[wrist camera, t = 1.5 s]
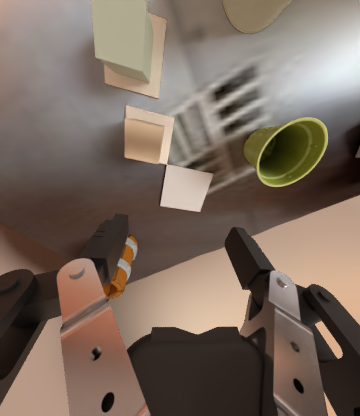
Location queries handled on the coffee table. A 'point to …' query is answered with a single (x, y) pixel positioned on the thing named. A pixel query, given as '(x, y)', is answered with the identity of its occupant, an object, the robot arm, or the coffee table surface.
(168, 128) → the code tile
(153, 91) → the code tile
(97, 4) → the sage block
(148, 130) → the beech block
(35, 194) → the coffee table surface
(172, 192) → the felt pad
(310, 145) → the plant pot
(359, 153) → the camera
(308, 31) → the coffee table surface
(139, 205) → the coffee table surface
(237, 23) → the can
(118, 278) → the mug
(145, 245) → the coffee table surface
